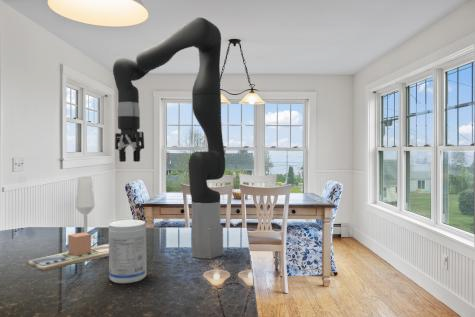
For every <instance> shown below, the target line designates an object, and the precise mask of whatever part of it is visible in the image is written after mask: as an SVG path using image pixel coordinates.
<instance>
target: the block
mask: <svg viewBox="0 0 475 317" xmlns="http://www.w3.org/2000/svg"><path fill="white" fill-rule="evenodd" d="M67 237H68V238H67V240H68V241H67V244H68V246H67V247H68V249H67V250H68V251H67V252H68V254H70V255H73V256H79V255H85V254H88V253H91V247H92V241H91V237H92V234H91V233H88V232H87V233H84V231H83V232H77V233H71V234H68V235H67Z"/></svg>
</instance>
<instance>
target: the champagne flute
mask: <svg viewBox="0 0 475 317" xmlns="http://www.w3.org/2000/svg"><path fill="white" fill-rule="evenodd" d="M76 185H77V188H76V198H75V208H76V210H77V212H79V213H80V214H82V215H83V232H84V233H87V234H88V215H89V214H90V213H91V212H92V211H93V209H94V208H95V197H94V196H95V195H94V186H93V179H92V176H78V177H77V184H76ZM93 241H96V238H94V237H92V236H91V242H93Z"/></svg>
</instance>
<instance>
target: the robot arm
mask: <svg viewBox="0 0 475 317" xmlns="http://www.w3.org/2000/svg"><path fill="white" fill-rule="evenodd" d="M193 47H194V48H195V49H197V50H198V56H199V66H198V71H197V72H198V73H197V75H196V78H195V80H194V84H193V86H192V92H191V95H192V96H191V98H192V101H191V102H192V112H193V115H194V117H195V119H196V120H197V121H196V122H198V124H199V126H200V127H201V129H202V131H203V132H204V135H205V138H206V141H207V150H206V151H194V152H193V153H191V154H190V156H189V159H188V180H189V181H188V182H189V193H190V198H191V255H192V257H193V258H198V259H208V260H209V259H210V260H211V259H214V258H217V257H220V256H223V255H224V227H223V226H224V225H222V224H221V193H220V192H219V191H216V190H213V189H212V188H210V186H208V182H207V181H214V180H221V179H222V178H223V176H224V175H225V171H226V156H225V148H224V139H223V127H222V94H221V93H222V92H221V71H220V70H221V69H220V68H221V67H220V65H221V64H220V63H221V51H222V50H221V48H222V35H221V31H220V28H218V26H216V25H215V24H214V23H213V22H211V21H210V20H208V19H206V18H204V17H195V18H193V19H191V20H190V21H188V22H187V23H185V24H184V25H183V26H182V27H180V28H179V29H177V30H175V31H174V32H173V33H172V34H171V35H168V37H166V38H165V39H163V40H162V41H159V42H158V43H156V44H154V45H152V46H150V47H147V48H146V49H143V50H142V51H140V52H138V53H137V55H136V58H135V60H133V59H129V58H127V57H118V58H116V60H115V61H114V63H113V65H112V73H113V79H114V82H115V85H116V89H117V94H118V95H117V104H118V105H117V129H118V130H120V132H116V133H114V134H115V135H114V150H117V151H118V152H119V154H118V158H119V160H118V161H119V162H120V163H122V162H126V161H127V156H126V155H127V154H126V153H127V151H126V150H127V148H128V147H129V146H131V147H132V150H133V151H132V154H133V156H132V157H133V158H132V159H133V160H132V161H133V162H134V163H137V162H141V151H142V149H145V136H144V131H138V130H140V128H141V123H140V122H141V120H140V119H141V117H140V113H141V112H140V105H139V102H140V100H139V98H140V97H139V89H138V88H137V87H136V86H135V85H133V82H134V81H138V80H141V79H142V78H143V77H145V76H146V75H147V74H148V73H150V71H153V70H155V69H158V68H159V67H161V66H164V65H166V64H167V63H168V62H170V61H171V59H172V58H173V57H174V56H175V55H176V54H178V52H180V51H183V50H185V49H188V48H193ZM132 81H133V82H132Z"/></svg>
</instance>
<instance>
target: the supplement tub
mask: <svg viewBox="0 0 475 317" xmlns="http://www.w3.org/2000/svg"><path fill="white" fill-rule="evenodd" d="M146 225H147V224H146V221H145V220H140V219H123V220H117V221H113V222H110V223H109V224H108V244H109V256H108V273H109V279H110V281H111V282H113V283H116V284H132V283H136V282H139V281H142V280H143V279H145V277H146V276H147V226H146Z"/></svg>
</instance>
